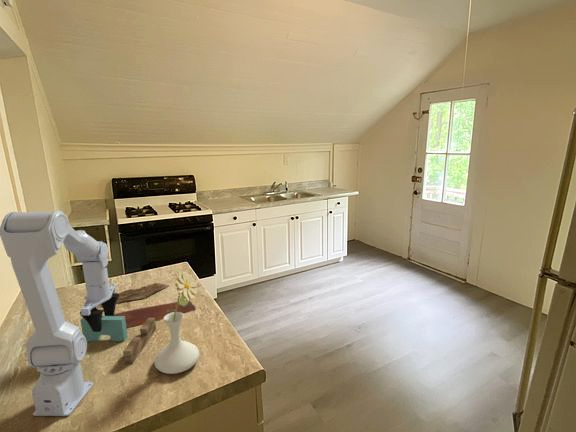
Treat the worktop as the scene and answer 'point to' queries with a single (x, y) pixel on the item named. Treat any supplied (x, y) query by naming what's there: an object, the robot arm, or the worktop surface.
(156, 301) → the worktop surface
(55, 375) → the robot arm
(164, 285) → the wooden fragment
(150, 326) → the brown wooden bar
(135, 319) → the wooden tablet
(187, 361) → the flower in vase
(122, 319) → the teal arch block
